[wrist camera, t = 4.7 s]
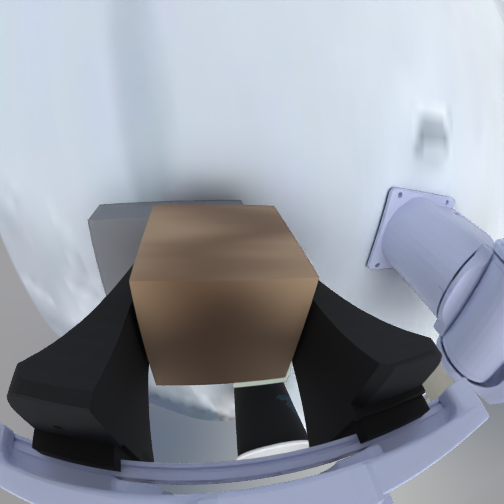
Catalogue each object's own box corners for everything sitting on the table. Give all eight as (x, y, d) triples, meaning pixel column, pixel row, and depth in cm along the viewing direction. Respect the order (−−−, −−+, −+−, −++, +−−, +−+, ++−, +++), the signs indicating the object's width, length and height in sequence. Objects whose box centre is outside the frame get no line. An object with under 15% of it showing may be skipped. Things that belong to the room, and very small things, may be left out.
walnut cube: (274, 205, 11) (319, 277, 7) (259, 296, 14) (285, 377, 10) (153, 204, 10) (129, 281, 6) (162, 298, 13) (156, 385, 9)
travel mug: (416, 362, 41) (459, 435, 26) (447, 341, 40) (491, 408, 25) (411, 378, 45) (447, 443, 30) (440, 359, 45) (477, 420, 30)
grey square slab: (240, 198, 19) (247, 215, 16) (233, 305, 24) (238, 329, 22) (101, 202, 17) (87, 220, 14) (124, 307, 22) (118, 332, 20)
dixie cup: (212, 386, 30) (224, 467, 21) (236, 349, 27) (257, 447, 18) (269, 390, 33) (289, 462, 24) (299, 356, 30) (330, 438, 21)
